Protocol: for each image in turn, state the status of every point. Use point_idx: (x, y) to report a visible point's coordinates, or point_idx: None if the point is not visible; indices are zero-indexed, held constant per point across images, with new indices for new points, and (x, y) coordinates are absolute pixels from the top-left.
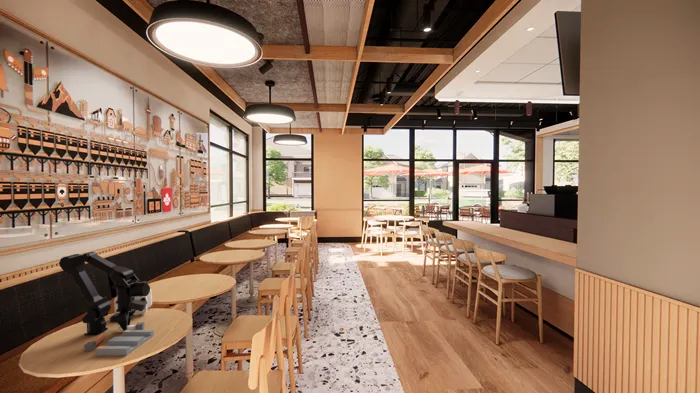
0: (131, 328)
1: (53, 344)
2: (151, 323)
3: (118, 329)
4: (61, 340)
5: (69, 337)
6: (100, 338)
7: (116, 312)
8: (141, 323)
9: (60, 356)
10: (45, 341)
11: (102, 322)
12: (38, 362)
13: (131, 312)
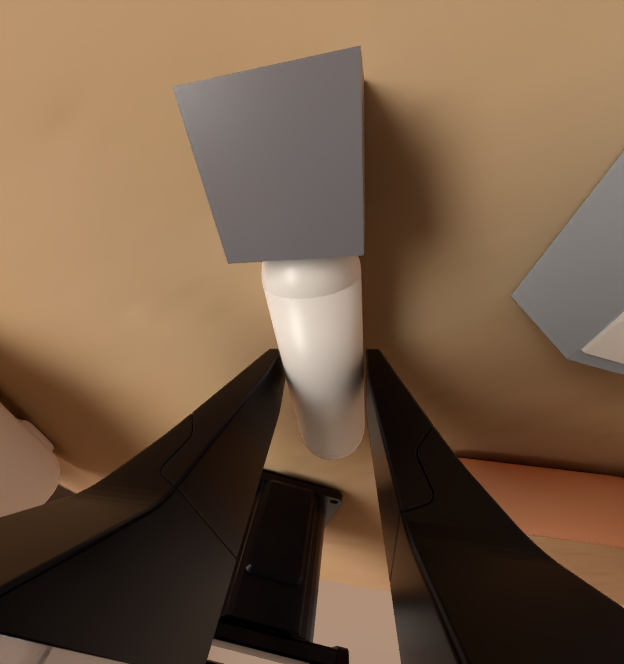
0: (360, 299)
1: (387, 571)
2: (50, 26)
3: (360, 430)
4: (350, 560)
5: (324, 549)
6: (569, 508)
7: (38, 499)
8: (280, 128)
9: (613, 561)
10: (339, 579)
11: (281, 579)
12: (610, 593)
13: (59, 641)
